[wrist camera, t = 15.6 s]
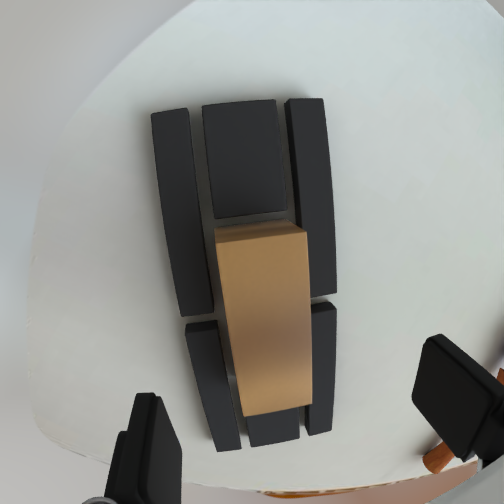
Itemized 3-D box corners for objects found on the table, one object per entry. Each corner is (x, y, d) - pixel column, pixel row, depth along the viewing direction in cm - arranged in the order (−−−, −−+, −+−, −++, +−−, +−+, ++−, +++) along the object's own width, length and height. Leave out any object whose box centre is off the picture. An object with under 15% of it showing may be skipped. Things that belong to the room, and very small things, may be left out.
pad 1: (154, 117, 15) (150, 113, 14) (315, 102, 16) (323, 98, 15) (182, 308, 18) (181, 317, 17) (329, 286, 19) (337, 293, 18)
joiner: (213, 227, 17) (215, 243, 13) (285, 218, 17) (306, 231, 14) (236, 376, 20) (243, 417, 16) (295, 366, 20) (312, 403, 16)
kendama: (424, 479, 22) (550, 331, 18) (409, 444, 28) (518, 310, 23) (451, 482, 22) (564, 350, 18) (436, 452, 28) (536, 329, 24)
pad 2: (185, 323, 18) (184, 333, 17) (330, 300, 19) (337, 308, 18) (216, 441, 21) (216, 452, 20) (327, 421, 22) (331, 430, 21)
